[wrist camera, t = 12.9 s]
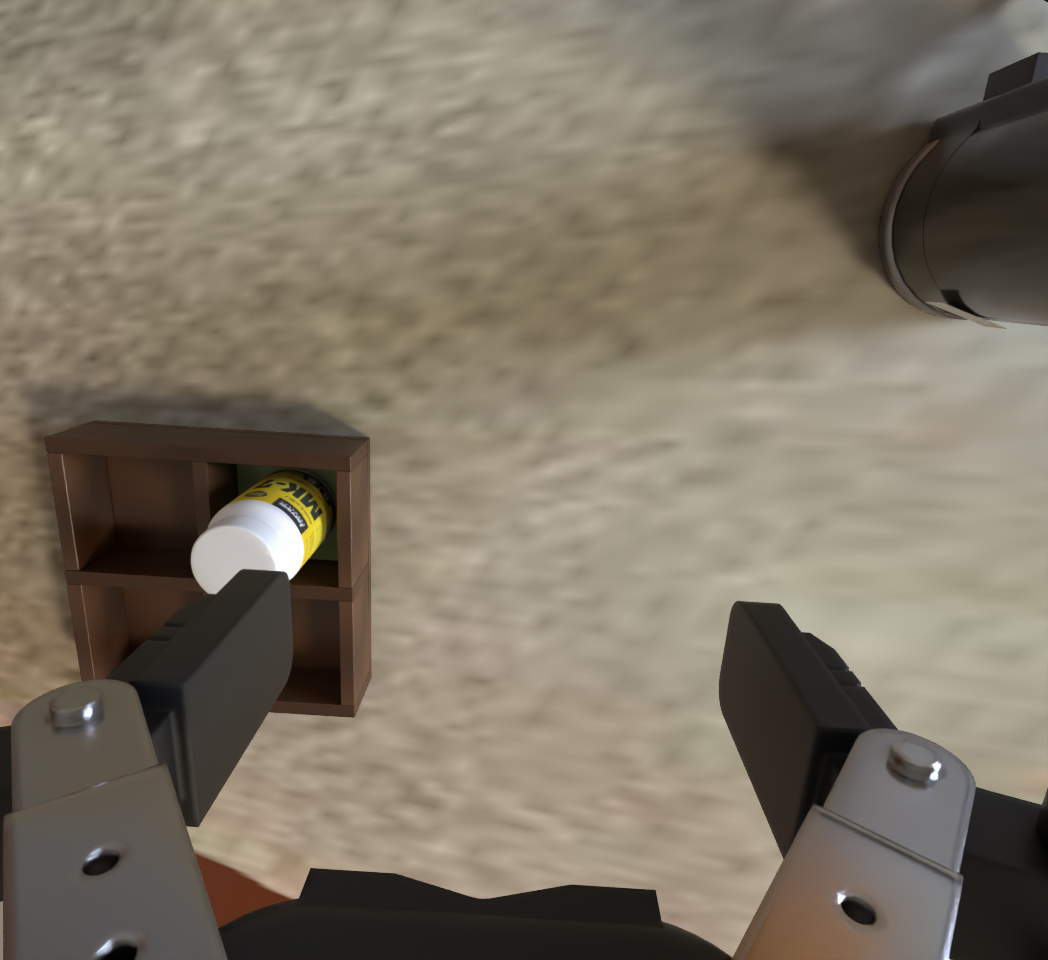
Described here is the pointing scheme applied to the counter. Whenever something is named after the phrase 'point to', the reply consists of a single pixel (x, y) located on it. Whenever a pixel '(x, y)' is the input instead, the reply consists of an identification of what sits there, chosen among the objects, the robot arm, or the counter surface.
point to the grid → (177, 522)
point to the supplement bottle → (265, 529)
